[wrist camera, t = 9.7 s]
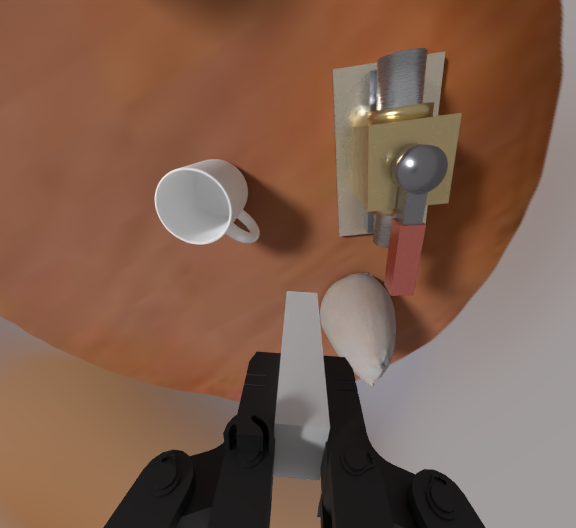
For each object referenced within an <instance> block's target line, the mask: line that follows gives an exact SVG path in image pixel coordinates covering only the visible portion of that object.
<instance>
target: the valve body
mask: <svg viewBox="0 0 576 528" xmlns="http://www.w3.org/2000/svg"><path fill="white" fill-rule="evenodd" d="M427 52H428V49H426V48H417V49H410V50H404V51H400V52H396V53H392V54H389V55H386V56H384V57H381V58H380V59H378V60H377V63H371V64H365V65H358V66H352V67H346V68H340V69H333V70H332V85H333V109H334V134H335V159H336V183H337V208H338V233H339V236H349V235H359V234H369V233H373V242H374V243H375V244H376V245H378V246H381V247H387V248H389V241H390V233H391V225H392V218H396V211H397V203H398V196H399V188H400V187H399V186H398V185H396V184H395V183H394V181H393V180H392V178H391V174H390V167H391V163H392V160H393V158H394V157H395V155H396V154H397V153H398V152H399V151H400V150H401V149H402V148H404V147H406V146H408V145H411V144H425V145H433V146H436V147H439V148H440V149H441V150H442V151H443V152H444V153H445V155H446V157H447V160H448V168H447V172H446V175H445V177H444V179H443V180H442V182H441V183H440V184H439V185H438V186H437V187H436V188H434V189H433V190H431V191H429V192H428V194H427V200H426V206H425V211H424V217H423V223H424V224H426V216H427V207H428V205H435V204H445V203H448V202H449V195H450V189H451V182H452V175H453V169H454V162H455V155H456V149H457V142H458V135H459V129H460V122H461V115H462V113H456V114H447V115H438V112H439V103H440V94H441V85H442V77H443V68H444V59H445V52H439V53H433V54H427Z"/></svg>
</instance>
